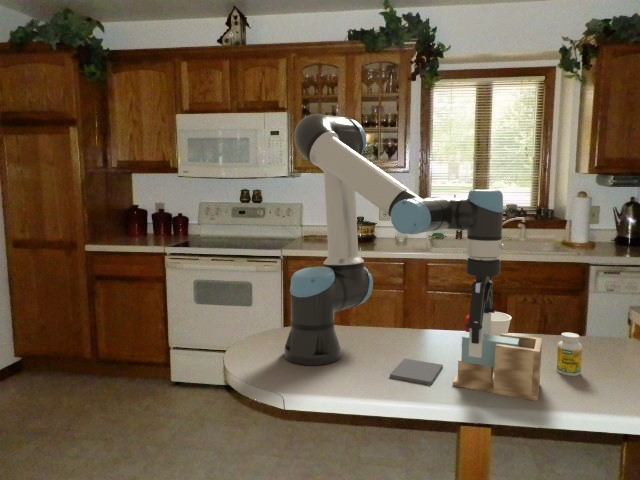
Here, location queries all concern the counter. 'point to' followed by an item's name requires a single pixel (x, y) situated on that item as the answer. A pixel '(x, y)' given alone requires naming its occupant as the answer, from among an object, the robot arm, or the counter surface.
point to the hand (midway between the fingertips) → (480, 347)
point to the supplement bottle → (569, 355)
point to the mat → (416, 371)
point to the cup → (499, 323)
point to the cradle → (506, 370)
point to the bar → (485, 349)
